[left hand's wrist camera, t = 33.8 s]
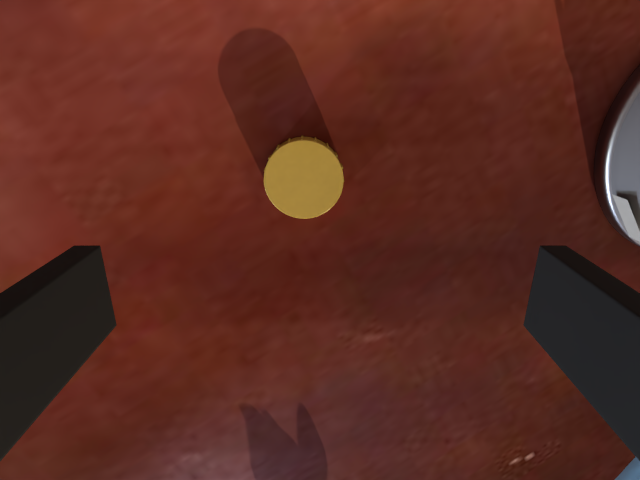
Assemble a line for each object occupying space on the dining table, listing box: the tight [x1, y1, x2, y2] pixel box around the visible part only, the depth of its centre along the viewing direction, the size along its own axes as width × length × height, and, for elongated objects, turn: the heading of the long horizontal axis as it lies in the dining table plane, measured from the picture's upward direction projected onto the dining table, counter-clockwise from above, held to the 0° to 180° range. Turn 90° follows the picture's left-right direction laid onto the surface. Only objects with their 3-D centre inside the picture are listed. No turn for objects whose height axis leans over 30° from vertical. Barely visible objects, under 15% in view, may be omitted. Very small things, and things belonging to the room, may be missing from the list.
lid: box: [264, 135, 344, 219], centre depth 25 cm, size 5×5×2 cm
